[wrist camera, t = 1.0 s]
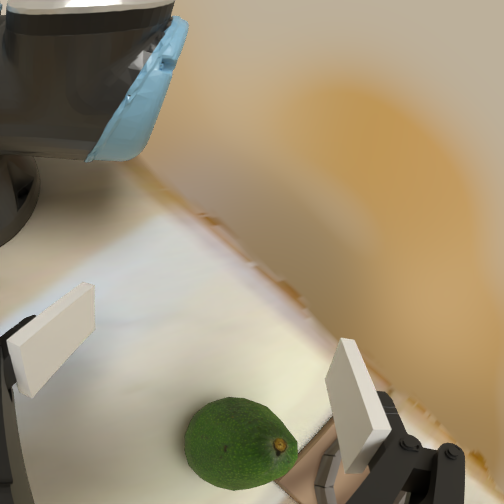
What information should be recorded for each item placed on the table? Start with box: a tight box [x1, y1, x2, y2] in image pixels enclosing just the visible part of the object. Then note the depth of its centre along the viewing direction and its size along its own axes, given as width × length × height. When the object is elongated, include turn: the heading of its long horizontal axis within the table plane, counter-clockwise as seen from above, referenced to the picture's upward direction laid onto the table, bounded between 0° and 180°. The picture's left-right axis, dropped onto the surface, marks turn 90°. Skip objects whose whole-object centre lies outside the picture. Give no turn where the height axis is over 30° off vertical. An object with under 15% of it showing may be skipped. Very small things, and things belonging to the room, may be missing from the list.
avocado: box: [185, 397, 298, 491], centre depth 22 cm, size 8×8×12 cm
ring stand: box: [274, 416, 408, 504], centre depth 27 cm, size 16×14×4 cm
